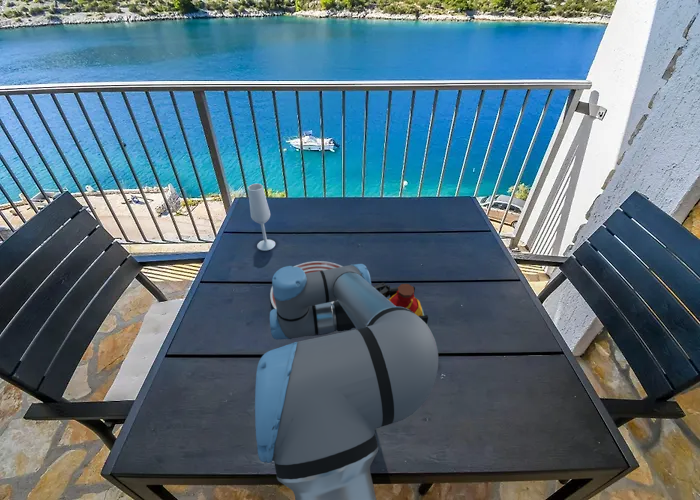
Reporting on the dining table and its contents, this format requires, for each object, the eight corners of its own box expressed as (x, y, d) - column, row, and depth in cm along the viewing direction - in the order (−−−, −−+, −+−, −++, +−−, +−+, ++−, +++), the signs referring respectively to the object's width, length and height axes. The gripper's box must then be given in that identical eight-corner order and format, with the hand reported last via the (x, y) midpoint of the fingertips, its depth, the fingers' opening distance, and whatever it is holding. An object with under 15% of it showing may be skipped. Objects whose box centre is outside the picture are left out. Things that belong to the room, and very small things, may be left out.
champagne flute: (278, 240, 131) (269, 183, 116) (271, 251, 126) (260, 193, 111) (261, 238, 132) (250, 181, 117) (253, 249, 127) (241, 190, 112)
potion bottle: (415, 349, 89) (422, 310, 80) (376, 337, 92) (379, 298, 82) (423, 319, 97) (431, 280, 87) (387, 309, 100) (391, 270, 90)
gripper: (328, 295, 97) (405, 285, 100) (341, 363, 80) (433, 349, 84) (327, 275, 93) (408, 265, 96) (340, 343, 76) (438, 329, 79)
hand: (420, 304), depth 90 cm, fingers closed on potion bottle, 9 cm apart
